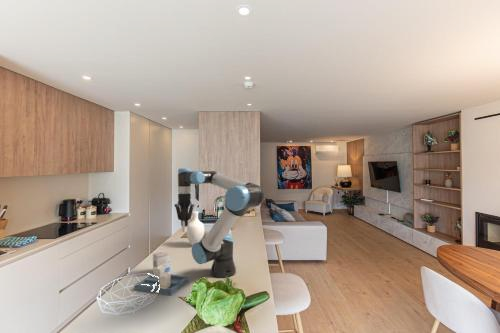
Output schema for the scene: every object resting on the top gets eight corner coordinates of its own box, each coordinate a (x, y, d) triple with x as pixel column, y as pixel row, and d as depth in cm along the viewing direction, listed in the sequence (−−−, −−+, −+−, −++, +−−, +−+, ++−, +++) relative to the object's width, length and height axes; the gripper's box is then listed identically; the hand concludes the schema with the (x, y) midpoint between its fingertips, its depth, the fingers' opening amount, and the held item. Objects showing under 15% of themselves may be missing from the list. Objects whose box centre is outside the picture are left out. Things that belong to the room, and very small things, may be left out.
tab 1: (164, 277, 139) (164, 265, 139) (159, 280, 135) (159, 267, 136) (158, 276, 140) (158, 264, 141) (153, 279, 137) (153, 267, 137)
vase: (207, 246, 200) (207, 212, 200) (190, 249, 192) (190, 213, 192) (200, 242, 212) (200, 209, 212) (183, 245, 204) (183, 211, 204)
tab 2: (170, 285, 129) (170, 272, 129) (166, 289, 125) (166, 275, 125) (164, 284, 130) (163, 271, 130) (159, 288, 126) (159, 275, 126)
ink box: (165, 268, 155) (165, 250, 155) (170, 270, 152) (169, 251, 152) (152, 273, 149) (152, 253, 149) (157, 275, 145) (157, 255, 146)
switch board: (187, 281, 138) (187, 276, 138) (171, 295, 122) (171, 289, 122) (154, 276, 144) (154, 272, 144) (134, 289, 128) (134, 284, 128)
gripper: (196, 192, 154) (197, 230, 154) (178, 192, 158) (178, 229, 157) (190, 193, 147) (191, 233, 146) (171, 193, 150) (171, 232, 150)
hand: (184, 231), depth 152 cm, fingers closed
